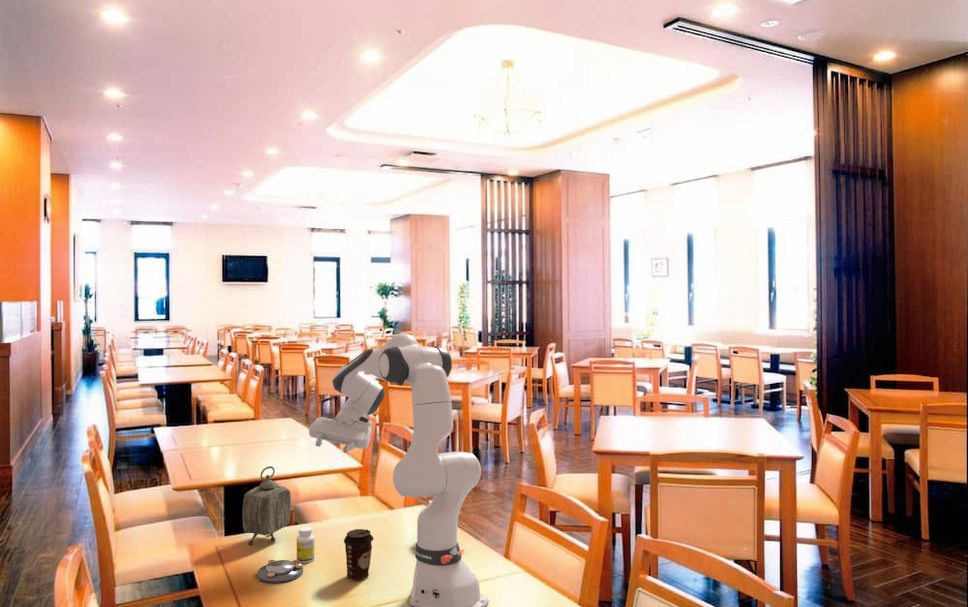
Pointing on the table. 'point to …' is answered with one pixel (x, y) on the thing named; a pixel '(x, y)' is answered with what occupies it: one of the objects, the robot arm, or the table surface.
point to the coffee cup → (358, 553)
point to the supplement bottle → (305, 545)
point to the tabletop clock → (266, 508)
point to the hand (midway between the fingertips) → (331, 448)
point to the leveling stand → (280, 571)
